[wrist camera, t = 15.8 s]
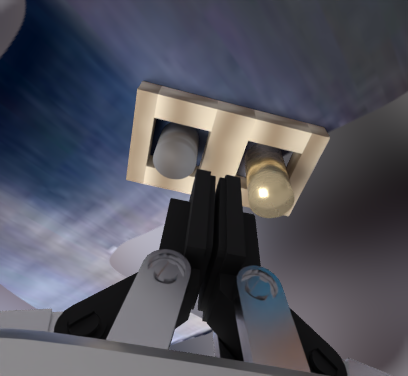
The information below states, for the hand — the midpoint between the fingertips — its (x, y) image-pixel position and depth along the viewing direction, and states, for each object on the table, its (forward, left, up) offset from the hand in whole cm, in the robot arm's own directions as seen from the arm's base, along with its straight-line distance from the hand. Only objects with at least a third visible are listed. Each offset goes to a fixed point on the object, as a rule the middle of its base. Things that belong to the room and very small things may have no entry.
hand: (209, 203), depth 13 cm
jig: (-3, +10, -23) cm, 26 cm away
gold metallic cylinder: (-8, +10, -23) cm, 27 cm away
